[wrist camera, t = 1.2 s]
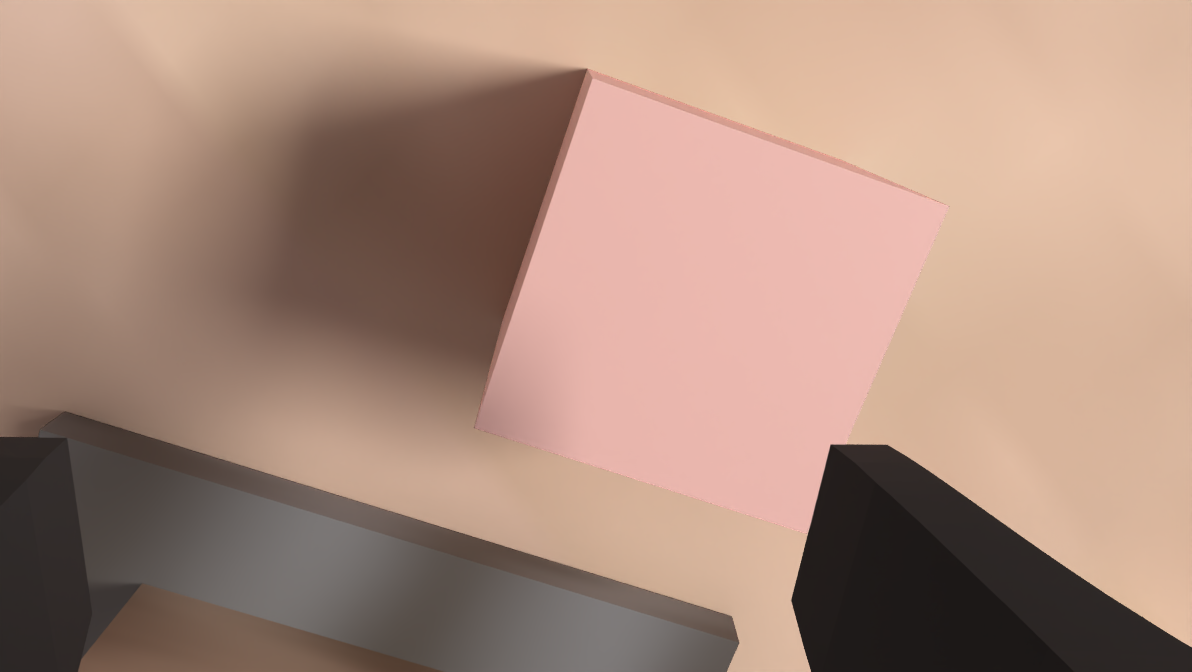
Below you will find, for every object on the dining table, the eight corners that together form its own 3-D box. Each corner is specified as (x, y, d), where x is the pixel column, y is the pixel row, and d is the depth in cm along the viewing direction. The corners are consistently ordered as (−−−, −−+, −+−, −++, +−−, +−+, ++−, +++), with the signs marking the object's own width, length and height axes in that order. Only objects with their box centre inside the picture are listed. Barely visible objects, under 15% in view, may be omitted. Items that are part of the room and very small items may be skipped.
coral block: (840, 159, 20) (949, 206, 14) (742, 400, 21) (806, 534, 15) (587, 68, 19) (592, 77, 14) (502, 320, 21) (474, 427, 15)
